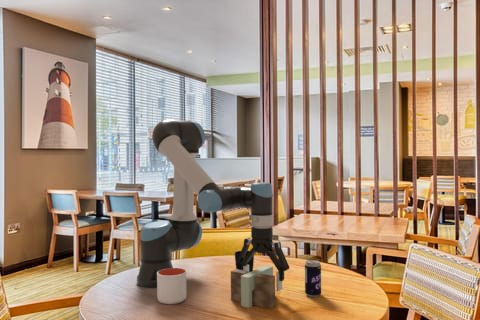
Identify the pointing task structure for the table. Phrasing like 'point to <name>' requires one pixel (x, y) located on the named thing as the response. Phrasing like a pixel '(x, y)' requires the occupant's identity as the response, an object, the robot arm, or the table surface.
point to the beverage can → (313, 278)
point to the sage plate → (252, 284)
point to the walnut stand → (261, 294)
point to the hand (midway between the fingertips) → (262, 286)
